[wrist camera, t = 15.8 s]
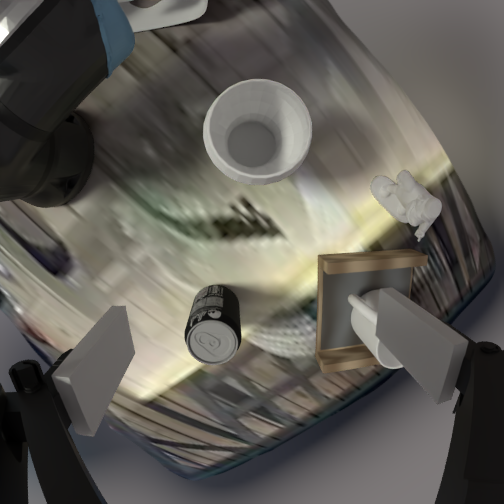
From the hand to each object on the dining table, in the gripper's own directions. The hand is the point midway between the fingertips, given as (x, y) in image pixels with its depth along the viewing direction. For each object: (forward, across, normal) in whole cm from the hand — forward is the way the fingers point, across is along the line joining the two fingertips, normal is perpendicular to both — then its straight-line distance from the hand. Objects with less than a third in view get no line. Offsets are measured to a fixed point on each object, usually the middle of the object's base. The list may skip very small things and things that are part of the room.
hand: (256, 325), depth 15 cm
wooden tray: (+29, +19, -12) cm, 36 cm away
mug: (+28, +18, -12) cm, 35 cm away
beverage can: (+29, -4, -10) cm, 31 cm away
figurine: (+29, +23, +4) cm, 37 cm away
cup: (+29, +2, +12) cm, 31 cm away
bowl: (+29, -13, +42) cm, 53 cm away
